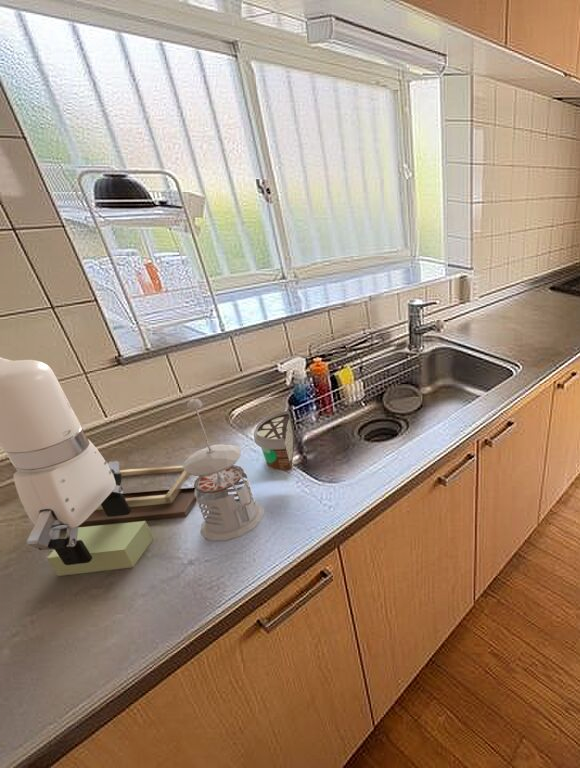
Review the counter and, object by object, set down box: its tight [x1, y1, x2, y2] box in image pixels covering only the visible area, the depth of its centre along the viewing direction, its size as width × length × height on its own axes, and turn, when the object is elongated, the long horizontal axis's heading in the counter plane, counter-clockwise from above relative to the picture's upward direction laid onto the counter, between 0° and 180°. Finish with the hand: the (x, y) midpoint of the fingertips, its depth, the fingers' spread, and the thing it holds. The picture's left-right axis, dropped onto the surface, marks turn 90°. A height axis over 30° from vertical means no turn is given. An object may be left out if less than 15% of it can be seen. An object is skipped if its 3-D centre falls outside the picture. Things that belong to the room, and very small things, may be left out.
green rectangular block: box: [46, 521, 154, 577], centre depth 67 cm, size 10×6×4 cm, turn 102°
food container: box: [253, 409, 296, 471], centre depth 88 cm, size 12×6×10 cm, turn 21°
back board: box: [59, 464, 197, 528], centre depth 80 cm, size 20×15×3 cm
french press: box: [183, 398, 265, 542], centre depth 70 cm, size 10×12×25 cm
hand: (100, 536), depth 66 cm, fingers open, 9 cm apart
